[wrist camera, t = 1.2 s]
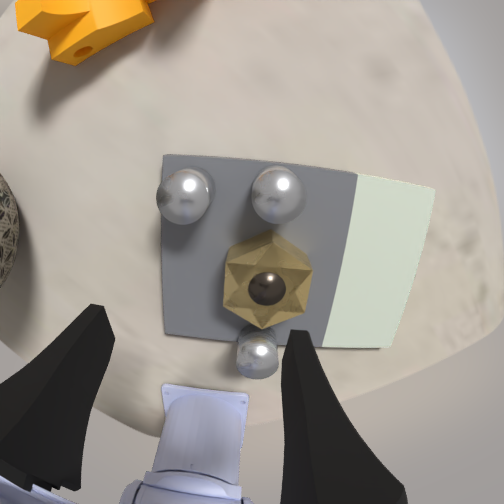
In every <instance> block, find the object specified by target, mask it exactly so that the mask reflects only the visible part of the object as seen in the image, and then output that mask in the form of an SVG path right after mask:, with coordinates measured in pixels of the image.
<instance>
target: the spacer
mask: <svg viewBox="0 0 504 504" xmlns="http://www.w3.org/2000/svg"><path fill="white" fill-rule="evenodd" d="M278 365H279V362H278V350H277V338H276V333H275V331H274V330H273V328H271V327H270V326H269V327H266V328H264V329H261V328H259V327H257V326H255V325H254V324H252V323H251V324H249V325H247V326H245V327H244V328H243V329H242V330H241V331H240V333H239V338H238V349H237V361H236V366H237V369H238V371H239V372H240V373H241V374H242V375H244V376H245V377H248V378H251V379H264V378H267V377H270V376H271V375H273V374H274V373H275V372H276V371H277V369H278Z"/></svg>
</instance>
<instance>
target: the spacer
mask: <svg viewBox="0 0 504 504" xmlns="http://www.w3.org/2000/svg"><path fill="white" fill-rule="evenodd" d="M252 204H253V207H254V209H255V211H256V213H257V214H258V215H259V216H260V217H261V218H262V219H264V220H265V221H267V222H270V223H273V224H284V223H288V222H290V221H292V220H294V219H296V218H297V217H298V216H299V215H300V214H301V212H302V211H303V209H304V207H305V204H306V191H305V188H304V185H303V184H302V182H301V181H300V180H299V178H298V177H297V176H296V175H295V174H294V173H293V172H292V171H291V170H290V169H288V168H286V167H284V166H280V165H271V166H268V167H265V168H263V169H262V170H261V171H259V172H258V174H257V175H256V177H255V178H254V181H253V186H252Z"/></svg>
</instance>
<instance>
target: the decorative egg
mask: <svg viewBox="0 0 504 504" xmlns="http://www.w3.org/2000/svg"><path fill="white" fill-rule="evenodd" d="M18 241H19V217H18V210H17V206H16V202H15V199H14V196H13V194H12V191H11V189H10V188H9V186H8V184H7V182H6V181H5V179H4V178H3V176H2V175H1V174H0V288H1V286H2V285H3V283H4V282H5V280H6V278H7V276H8V274H9V272H10V270H11V268H12V265H13V263H14V260H15V256H16V252H17V247H18Z"/></svg>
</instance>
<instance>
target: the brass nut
mask: <svg viewBox="0 0 504 504" xmlns="http://www.w3.org/2000/svg"><path fill="white" fill-rule="evenodd" d="M312 274H313V269H312V266H311V264H310V261H309V259H308V256H307V254H306V253H304V252H303V251H302V250H300V249H299V248H297V247H296V246H294V245H293V244H292V243H290V242H289V241H287V240H286V239H284V238H283V237H282V236H280V235H279V234H277V233H276V232H274V231H273V230H272V229H270V230H268V231H266V232H263V233H261V234H259V235H256V236H254V237H252V238H249V239H247V240H245V241H242V242H240V243H238V244H235V245H233V246H231V247H229V251H228V255H227V259H226V266H225V282H224V298H223V307H225V308H227V309H228V310H230V311H232V312H233V313H235V314H237V315H238V316H240V317H242V318H243V319H245V320H247V321H249V322H250V323H252V324H254V325H255V326H257V327H259V328H261V329H264V328H266V327H269V326H272V325H274V324H277V323H280V322H282V321H285V320H288V319H290V318H293V317H296V316H298V315H301V314H303V313H305V309H306V304H307V300H308V294H309V289H310V284H311V279H312Z"/></svg>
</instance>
